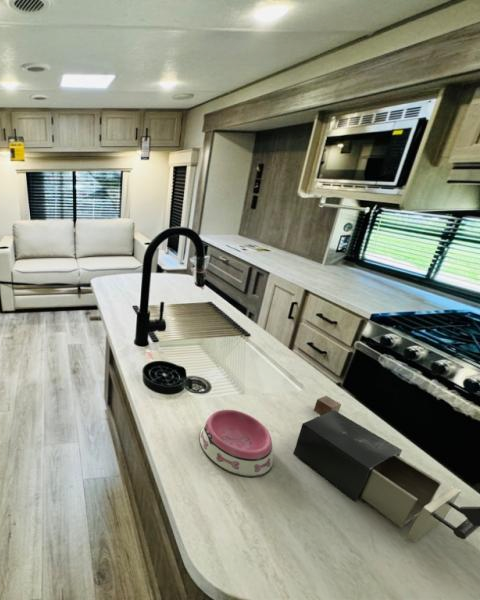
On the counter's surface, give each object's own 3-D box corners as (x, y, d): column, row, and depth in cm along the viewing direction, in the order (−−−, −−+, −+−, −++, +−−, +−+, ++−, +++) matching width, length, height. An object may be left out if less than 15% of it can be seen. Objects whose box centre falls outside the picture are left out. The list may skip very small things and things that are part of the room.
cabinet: (386, 482, 76) (402, 449, 72) (354, 502, 71) (369, 468, 67) (323, 439, 88) (333, 409, 84) (293, 454, 84) (302, 423, 80)
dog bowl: (287, 480, 77) (293, 459, 74) (209, 474, 78) (213, 454, 76) (255, 425, 94) (259, 406, 91) (192, 421, 96) (194, 403, 93)
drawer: (474, 540, 63) (494, 510, 59) (444, 565, 59) (464, 535, 55) (369, 469, 78) (380, 442, 75) (340, 485, 74) (351, 458, 71)
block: (337, 415, 97) (341, 404, 95) (328, 419, 95) (332, 407, 94) (322, 406, 101) (326, 395, 99) (313, 410, 99) (317, 399, 98)
